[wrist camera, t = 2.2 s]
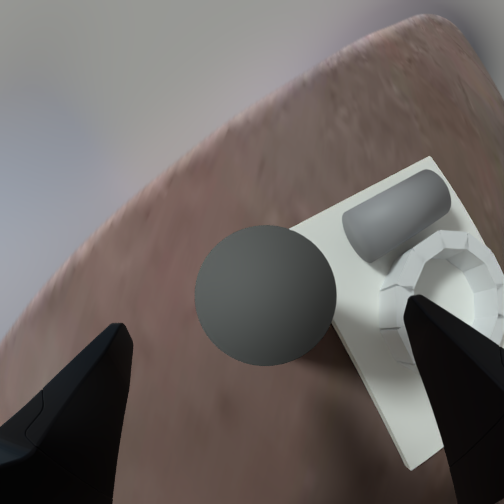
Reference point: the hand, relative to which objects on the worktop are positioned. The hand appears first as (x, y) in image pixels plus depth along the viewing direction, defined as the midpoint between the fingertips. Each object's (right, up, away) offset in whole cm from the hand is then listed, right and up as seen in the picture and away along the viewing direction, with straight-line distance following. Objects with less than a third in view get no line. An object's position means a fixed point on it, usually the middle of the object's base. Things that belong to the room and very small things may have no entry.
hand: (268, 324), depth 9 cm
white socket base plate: (+11, -1, +8) cm, 13 cm away
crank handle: (0, -1, +8) cm, 8 cm away
